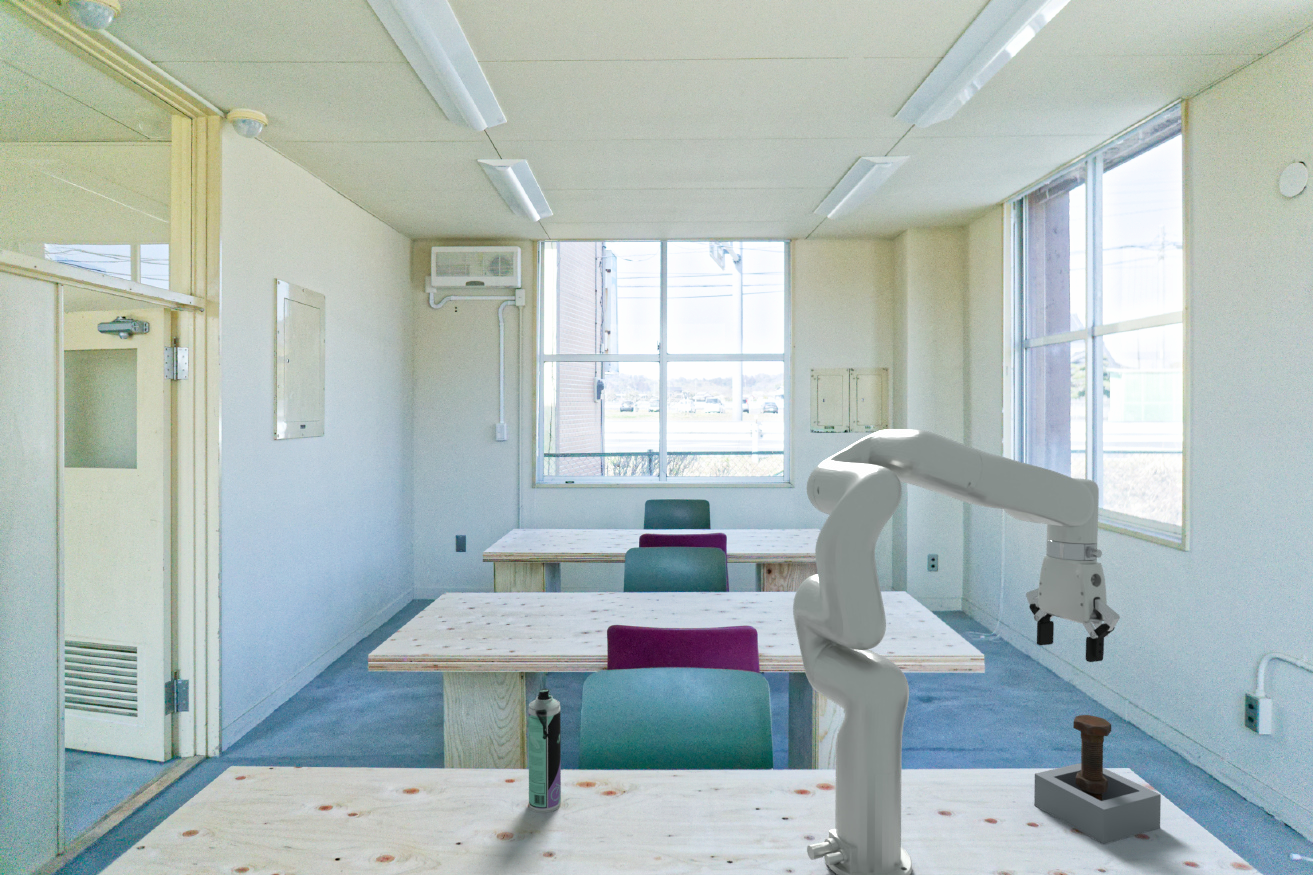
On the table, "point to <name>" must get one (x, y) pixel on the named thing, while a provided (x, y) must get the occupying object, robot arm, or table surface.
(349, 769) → the table surface
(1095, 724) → the bolt
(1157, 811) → the socket block
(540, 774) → the spray can
